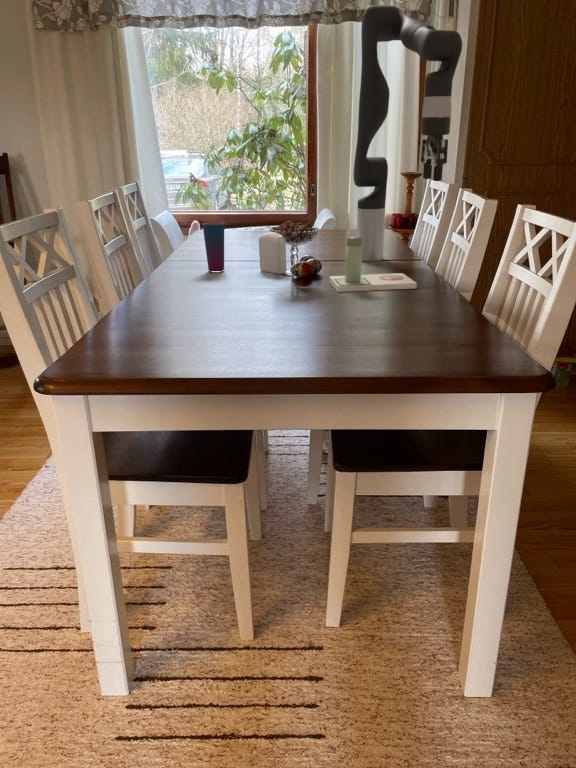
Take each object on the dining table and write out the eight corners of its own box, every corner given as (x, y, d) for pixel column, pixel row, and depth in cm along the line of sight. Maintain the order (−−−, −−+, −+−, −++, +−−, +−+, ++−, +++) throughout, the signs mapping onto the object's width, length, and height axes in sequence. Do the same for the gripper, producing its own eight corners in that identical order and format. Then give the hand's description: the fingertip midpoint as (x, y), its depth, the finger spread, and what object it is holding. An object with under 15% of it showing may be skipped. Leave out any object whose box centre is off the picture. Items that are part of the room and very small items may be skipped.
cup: (202, 272, 194) (198, 224, 189) (212, 268, 200) (209, 222, 195) (220, 273, 192) (217, 225, 186) (230, 269, 198) (228, 222, 192)
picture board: (329, 281, 178) (329, 275, 177) (402, 278, 180) (402, 272, 179) (337, 291, 165) (337, 285, 164) (416, 288, 167) (416, 282, 166)
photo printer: (258, 270, 195) (256, 231, 191) (268, 268, 198) (267, 230, 193) (277, 275, 188) (276, 234, 183) (288, 273, 190) (287, 233, 186)
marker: (343, 279, 171) (345, 236, 167) (358, 279, 171) (361, 236, 167) (346, 283, 167) (348, 238, 163) (362, 282, 167) (364, 238, 163)
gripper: (414, 117, 167) (411, 178, 174) (431, 115, 154) (427, 181, 160) (440, 116, 168) (436, 178, 174) (460, 114, 155) (454, 181, 161)
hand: (432, 179), depth 167 cm, fingers open, 8 cm apart
